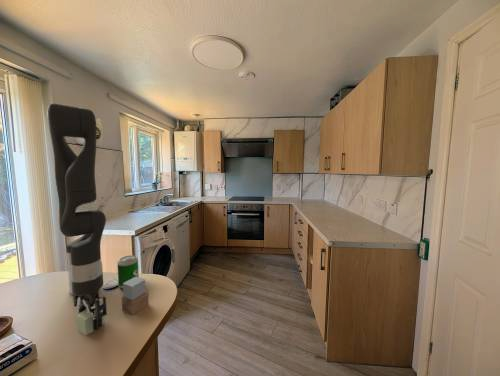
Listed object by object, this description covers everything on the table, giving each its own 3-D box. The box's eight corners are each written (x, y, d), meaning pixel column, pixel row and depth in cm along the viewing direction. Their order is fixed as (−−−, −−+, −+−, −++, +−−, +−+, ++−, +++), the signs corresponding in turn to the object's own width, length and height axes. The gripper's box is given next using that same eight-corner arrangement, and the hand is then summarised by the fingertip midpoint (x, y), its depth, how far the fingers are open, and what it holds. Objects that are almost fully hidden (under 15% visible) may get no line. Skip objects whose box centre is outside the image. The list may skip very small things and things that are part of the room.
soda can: (129, 291, 81) (128, 263, 80) (114, 288, 83) (112, 261, 82) (142, 281, 88) (141, 255, 87) (128, 279, 90) (127, 253, 89)
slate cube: (123, 296, 70) (122, 283, 69) (136, 289, 74) (135, 276, 74) (132, 300, 68) (132, 286, 67) (145, 292, 72) (145, 279, 72)
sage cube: (77, 330, 61) (76, 314, 61) (95, 319, 66) (94, 305, 65) (85, 335, 59) (84, 320, 59) (104, 324, 64) (103, 309, 63)
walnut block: (122, 310, 70) (121, 296, 70) (137, 300, 76) (137, 287, 75) (133, 315, 68) (132, 301, 67) (148, 304, 73) (148, 292, 73)
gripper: (60, 274, 61) (64, 324, 62) (85, 287, 54) (89, 341, 56) (89, 264, 67) (91, 309, 69) (114, 274, 61) (116, 323, 63)
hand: (90, 323), depth 62 cm, fingers open, 7 cm apart
